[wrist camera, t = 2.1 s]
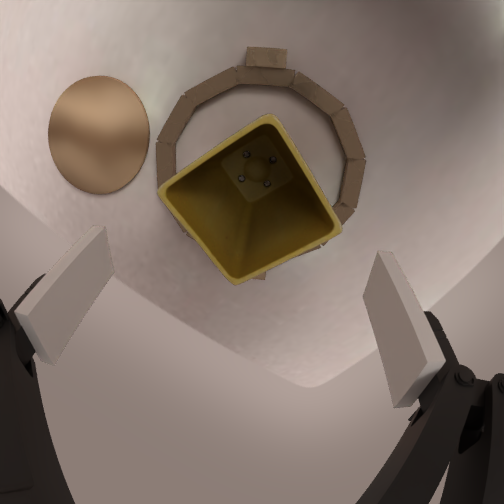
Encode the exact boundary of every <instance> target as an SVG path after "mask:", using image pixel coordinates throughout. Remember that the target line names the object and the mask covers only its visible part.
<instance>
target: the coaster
mask: <svg viewBox="0 0 504 504" xmlns="http://www.w3.org/2000/svg"><path fill="white" fill-rule="evenodd" d="M149 137H150V131H149V122H148V117H147V114H146V111H145V108H144V106H143V104H142V102H141V100H140V99H139V97H138V96H137V94H136V93H135V92H134V91H133V90H132V89H131V88H130V87H129V86H128V85H126V84H125V83H123V82H122V81H120V80H118V79H115V78H112V77H108V76H93V77H87V78H84V79H81V80H79V81H77V82H75V83H74V84H72V85H71V86H70V87H68V88H67V89H66V90H65V91H64V92H63V94H62V95H61V96H60V97H59V99H58V100H57V102H56V104H55V106H54V108H53V111H52V113H51V117H50V121H49V128H48V140H49V147H50V151H51V155H52V158H53V160H54V163H55V165H56V166H57V168H58V170H59V171H60V173H61V174H62V175H63V176H64V178H65V179H66V180H67V181H68V182H69V183H71V184H72V185H73V186H75V187H77V188H78V189H80V190H83V191H85V192H88V193H93V194H105V193H110V192H113V191H116V190H118V189H120V188H121V187H123V186H124V185H126V184H127V183H128V182H129V181H131V180H132V179H133V178H134V177H135V175H136V174H137V173H138V171H139V170H140V168H141V167H142V165H143V163H144V160H145V158H146V155H147V151H148V147H149Z"/></svg>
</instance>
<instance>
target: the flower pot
mask: <svg viewBox="0 0 504 504" xmlns="http://www.w3.org/2000/svg"><path fill="white" fill-rule="evenodd" d="M245 151H249V152H250V156H249V157H245V156H244V152H245ZM271 157H275V158H276V162H274V163H272V162H270V158H271ZM241 175H243V176H244V177H245V180H244V181H240V180H239V176H241ZM265 181H269V182H270V186H265V185H264V182H265ZM157 194H158V196H159V197H160V199H161V200H162V202H163V203H164V204H165V205H166V206H167V208H168V209H169V210H170V211H171V212H172V214H173V215H174V216H175V217H176V218H177V219H178V220H179V222H180V223H181V224H182V225H183V226H184V228H185V229H186V230H187V231H188V232H189V233H190V234H191V236H192V237H193V238H194V239H195V240H196V241H197V243H198V244H199V245H200V246H201V248H202V249H203V250H204V251H205V253H206V254H207V255H208V257H209V258H210V259H211V260H212V262H213V263H214V264H215V265H216V267H217V268H218V269H219V270H220V271H221V273H222V274H223V275H224V277H225V278H226V279H227V280H229V281H230V282H231V283H232V284H233V285H239V284H241V283H244V282H245V281H248V280H249V279H251V278H253V277H255V276H258V275H260V274H262V273H263V272H265V271H267V270H269V269H271V268H273V267H275V266H277V265H279V264H282V263H283V262H285V261H287V260H289V259H291V258H294V257H296V256H298V255H300V254H302V253H303V252H305V251H307V250H310V249H312V248H314V247H316V246H318V245H320V244H322V243H324V242H326V241H328V240H330V239H332V238H333V237H335V236H337V235H338V234H340V233H341V232H342V225H341V222H340V220H339V219H338V217H337V215H336V214H335V212H334V210H333V209H332V207H331V205H330V204H329V202H328V200H327V198H326V197H325V195H324V193H323V191H322V190H321V188H320V186H319V185H318V183H317V181H316V179H315V178H314V176H313V174H312V173H311V171H310V169H309V167H308V166H307V164H306V163H305V161H304V159H303V158H302V156H301V154H300V153H299V151H298V149H297V148H296V146H295V144H294V143H293V141H292V139H291V138H290V136H289V135H288V133H287V131H286V130H285V128H284V126H283V125H282V124H281V122H280V121H279V119H278V118H277V117H276V116H275V115H273V114H266V115H263V116H261V117H260V118H258V119H256V120H255V121H253V122H252V123H250V124H249V125H247V126H246V127H244V128H243V129H241V130H239V131H238V132H236V133H235V134H234V135H232V136H230V137H229V138H227V139H226V140H225V141H223V142H222V143H220V144H219V145H217V146H216V147H214V148H213V149H211V150H210V151H208V152H207V153H206V154H204V155H203V156H201V157H200V158H198V159H197V160H195V161H194V162H193V163H191V164H190V165H188V166H187V167H186V168H184V169H183V170H181V171H180V172H178V173H177V174H176V175H174V176H173V177H171V178H170V179H168V180H167V181H166V182H165V183H163V184H162V185H161V186H160V187H159V189H158V191H157Z"/></svg>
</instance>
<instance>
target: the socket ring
mask: <svg viewBox="0 0 504 504" xmlns="http://www.w3.org/2000/svg"><path fill="white" fill-rule="evenodd" d="M286 56H287V49H276V48H262V47H247V57H246V66H237V70H236V68H235V67H231V68H229V69H227V70H225V71H223V72H221V73H219V74H217V75H215V76H213V77H212V78H210V79H208V80H206V81H204V82H202V83H200V84H199V85H197V86H195V87H193V88H191V89H190V90H188V91H186V92H184V93H185V95H181V97H180V99H179V100H178V102H177V104H176V106H175V107H174V109H173V111H172V113H171V114H170V116H169V118H168V120H167V121H166V123H165V125H164V127H163V129H162V131H161V132H160V134H159V136H158V138H157V140H158V142H157V143H156V161H157V181H158V189H159V187H160V186H161V185H162V184H163V183H165V182H166V181H167V180H168V179H170V178H171V177H173V176H174V175H176V142H177V140H178V138H179V136H180V135H181V133H182V131H183V129H184V128H185V126H186V124H187V123H188V121H189V119H190V118H191V116H192V114H193V113H194V111H195V109H196V108H197V106H198V105H199V104H201V103H203V102H205V101H207V100H209V99H211V98H212V97H214V96H216V95H218V94H220V93H222V92H224V91H226V90H228V89H230V88H232V87H234V86H236V85H238V84H240V83H241V84H259V85H272V86H283V87H290V88H292V89H293V90H295V91H296V92H298V93H299V94H301V95H302V96H303V97H305V98H306V99H308V100H309V101H310V102H312V103H313V104H315V105H316V106H317V107H319V108H320V109H321V110H323V111H324V112H325V113H327V114H328V115H329V116H330V118H331V121H332V123H333V125H334V128H335V130H336V133H337V135H338V137H339V140H340V142H341V145H342V147H343V150H344V152H345V155H346V164H345V169H344V175H343V181H342V186H341V192H340V197H339V200H338V201H337V203H336V204H335V205H334V206H333V207H332V209H333V210H334V212H335V214H336V215H337V217H338V219H339V220H340V222H341V225H343V224H344V223H345V222H346V221H347V219H348V218H349V217H350V216H351V215H352V214H353V213H354V212H355V211H354V209H353V208H357V203H358V198H359V194H360V189H361V184H362V179H363V174H364V169H365V163H366V160H365V159H364V158H365V154H364V151H363V148H362V145H361V143H360V140H359V137H358V135H357V132H356V130H355V127H354V124H353V122H352V119H351V117H350V115H349V112H348V110H347V108H345V107H343V106H344V104H343V103H341V102H340V101H339V100H338V99H336V98H335V97H334V96H332V95H331V94H330V93H328V92H327V91H326V90H324V89H323V88H322V87H320V86H319V85H318V84H316V83H315V82H313V81H312V80H311V79H309V78H308V77H306V76H305V75H303V74H302V73H300V72H299V71H298V72H297V74H296V75H295V70H291V69H286ZM294 75H295V76H294ZM342 107H343V108H342ZM170 212H171V211H170ZM171 213H172V212H171ZM172 215H173V214H172ZM173 217H174V218H175V220H176V221H177V223H178V224H179V226H180V228H181V229H182V231H183V232H186V231H187V230H186V229H185V228H184V226H183V225H182V224H181V223H180V222H179V220H178V219H177V218H176V217H175V216H174V215H173ZM186 235H187V236H189V237H190V238H192V239H194V238H193V237H192V236H191V234H190V233H189V232H187V234H186ZM194 240H195V239H194ZM195 241H196V240H195ZM327 242H328V241H326V242H324V243H322V244H321V245H323V246H324V245H325V244H326V243H327ZM319 248H321V246H320V245H318V246H316V247H314V248H312V249H310V250H307V251H305V252H303V253H302V254H305V253H308V252H310V251H313V250H316V249H319ZM302 254H300V255H302ZM300 255H298V256H300ZM296 257H297V256H296ZM265 275H266V271H265V272H263V273H262V274H260V275H258V276H255V277H253V278H251V279H261V280H265Z"/></svg>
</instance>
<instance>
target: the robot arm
mask: <svg viewBox="0 0 504 504" xmlns="http://www.w3.org/2000/svg"><path fill="white" fill-rule="evenodd" d="M113 274H114V268H113V264H112V259H111V254H110V249H109V244H108V238H107V233H106V227H105V226H92V227H91V228H90V229H89V230H88V231H87V232H86V233H85V234H84V235H83V236H82V237H81V238H80V239H79V240H78V241H77V242H76V243H75V244H74V245H73V246H72V247H71V248H70V249H69V250H68V251H67V252H66V253H65V254H64V255H63V256H62V257H61V258H60V259H59V261H58V262H57V263H56V264H55V265H54V266H53V267H52V268H51V269H50V270H49V271H48V272H47V273H46V274H43V275H42V276H40V277H39V278H37V279H36V280H35V281H34V282H33V283H32V284H31V286H30V288H28V289H27V290H26V291H25V294H23V295H22V296H21V297H20V298H19V299H18V301H17V302H16V303H15V304H14V306H13V307H12V308H11V309H10V310H9V312H8V313H7V311H6V309H5V307H4V304H3V302H2V300H1V299H0V504H75V502H74V500H73V498H72V495H71V493H70V491H69V488H68V486H67V483H66V480H65V478H64V475H63V473H62V470H61V467H60V464H59V461H58V458H57V455H56V452H55V449H54V446H53V443H52V439H51V436H50V432H49V428H48V425H47V421H46V417H45V413H44V408H43V404H42V399H41V394H40V389H39V384H38V379H37V373H36V367H35V362H34V359H33V358H32V356H33V355H34V353H35V352H36V353H37V355H38V357H39V358H40V360H41V361H42V362H45V363H48V364H51V365H53V366H54V365H55V364H56V362H57V360H58V359H59V357H60V355H61V354H62V352H63V350H64V349H65V347H66V345H67V343H68V342H69V340H70V338H71V337H72V335H73V334H74V332H75V331H76V329H77V327H78V326H79V324H80V322H81V321H82V319H83V318H84V316H85V315H86V313H87V311H88V310H89V309H90V307H91V306H92V304H93V303H94V301H95V300H96V298H97V297H98V295H99V294H100V292H101V291H102V289H103V287H104V286H105V285H106V284H107V282H108V281H109V279H110V278H111V276H112V275H113ZM363 299H364V302H365V305H366V309H367V312H368V315H369V318H370V321H371V325H372V328H373V331H374V335H375V338H376V341H377V345H378V348H379V352H380V355H381V359H382V363H383V366H384V370H385V374H386V377H387V381H388V385H389V390H390V393H391V398H392V402H393V406H394V408H400V407H410V406H412V405H413V403H414V402H415V401H416V400H417V399H419V402H420V407H419V408H418V409H417V410H416V411H415V412H414V414H413V415H412V416H411V417H410V418H409V419H408V420H409V421H411V422H410V424H409V425H408V427H407V429H406V430H405V432H404V434H403V436H402V437H401V439H400V441H399V442H398V444H397V446H396V447H395V449H394V450H393V452H392V454H391V455H390V457H389V458H388V460H387V461H386V463H385V464H384V466H383V467H382V469H381V470H380V472H379V473H378V474H377V476H376V477H375V479H374V480H373V482H372V483H371V484H370V486H369V487H368V488H367V490H366V491H365V492H364V494H363V495H362V496H361V498H360V499H359V500H358V501H357V503H356V504H429V502H430V500H431V498H432V496H433V495H434V493H435V491H436V489H437V487H438V485H439V483H440V481H441V479H442V477H443V475H444V473H445V471H446V469H447V466H448V464H449V462H450V464H449V468H448V473H447V477H446V482H445V486H444V490H443V493H442V497H441V501H440V504H504V374H502V373H498V374H496V375H495V376H494V377H493V378H492V379H491V381H485V380H480V379H476V377H475V375H474V373H473V372H472V370H470V369H469V368H468V367H466V366H463V365H459V363H458V361H457V358H456V356H455V354H454V351H453V349H452V347H451V345H450V343H449V341H448V339H447V338H446V334H445V333H444V331H443V328H442V326H441V324H440V323H439V320H438V319H437V318H436V317H435V316H434V315H433V314H432V313H431V312H429V311H423V310H422V308H421V306H420V304H419V302H418V300H417V298H416V296H415V294H414V292H413V290H412V288H411V286H410V284H409V282H408V281H407V279H406V277H405V275H404V273H403V271H402V270H401V268H400V266H399V264H398V262H397V261H396V259H395V257H394V255H393V254H392V252H384V251H377V254H376V258H375V261H374V264H373V267H372V270H371V274H370V277H369V280H368V283H367V286H366V289H365V291H364V294H363Z"/></svg>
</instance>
